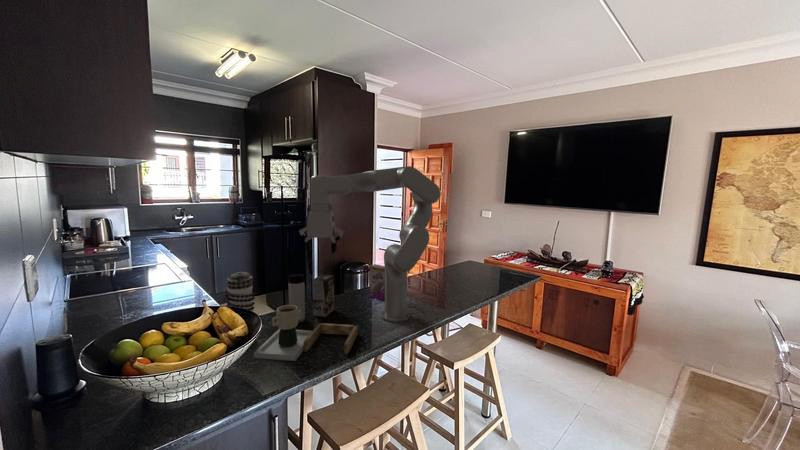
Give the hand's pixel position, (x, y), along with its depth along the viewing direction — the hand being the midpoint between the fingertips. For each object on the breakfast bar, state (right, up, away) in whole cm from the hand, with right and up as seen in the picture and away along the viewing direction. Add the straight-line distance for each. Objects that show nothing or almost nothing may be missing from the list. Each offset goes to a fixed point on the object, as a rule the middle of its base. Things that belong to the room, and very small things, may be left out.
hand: (321, 252), depth 127 cm
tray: (-9, -32, -13) cm, 35 cm away
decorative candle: (-26, -32, -10) cm, 42 cm away
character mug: (-9, -32, -12) cm, 35 cm away
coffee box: (-3, -29, +18) cm, 34 cm away
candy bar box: (+21, -27, +38) cm, 50 cm away
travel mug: (-12, -29, +9) cm, 33 cm away
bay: (+6, -32, -10) cm, 34 cm away
